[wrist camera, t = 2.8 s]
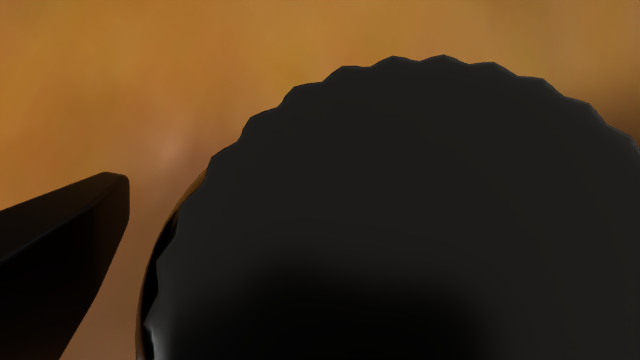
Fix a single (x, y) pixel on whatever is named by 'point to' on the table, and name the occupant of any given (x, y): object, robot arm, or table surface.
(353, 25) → the table surface
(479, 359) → the supplement bottle
